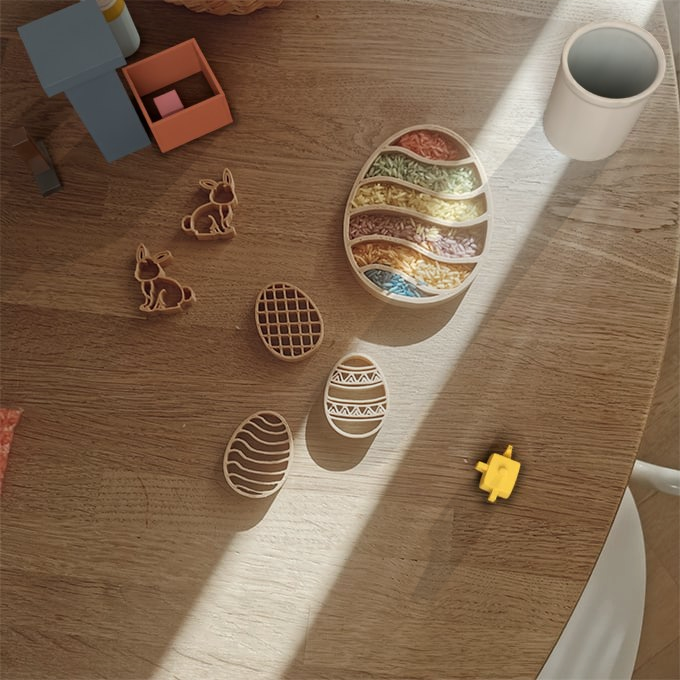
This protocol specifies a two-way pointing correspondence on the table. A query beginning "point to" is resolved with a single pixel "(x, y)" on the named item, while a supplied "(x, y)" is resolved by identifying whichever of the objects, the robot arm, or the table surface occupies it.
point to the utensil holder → (602, 88)
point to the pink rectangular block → (168, 104)
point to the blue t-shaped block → (86, 74)
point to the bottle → (120, 25)
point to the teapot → (498, 474)
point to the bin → (167, 71)
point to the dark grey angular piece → (36, 160)
